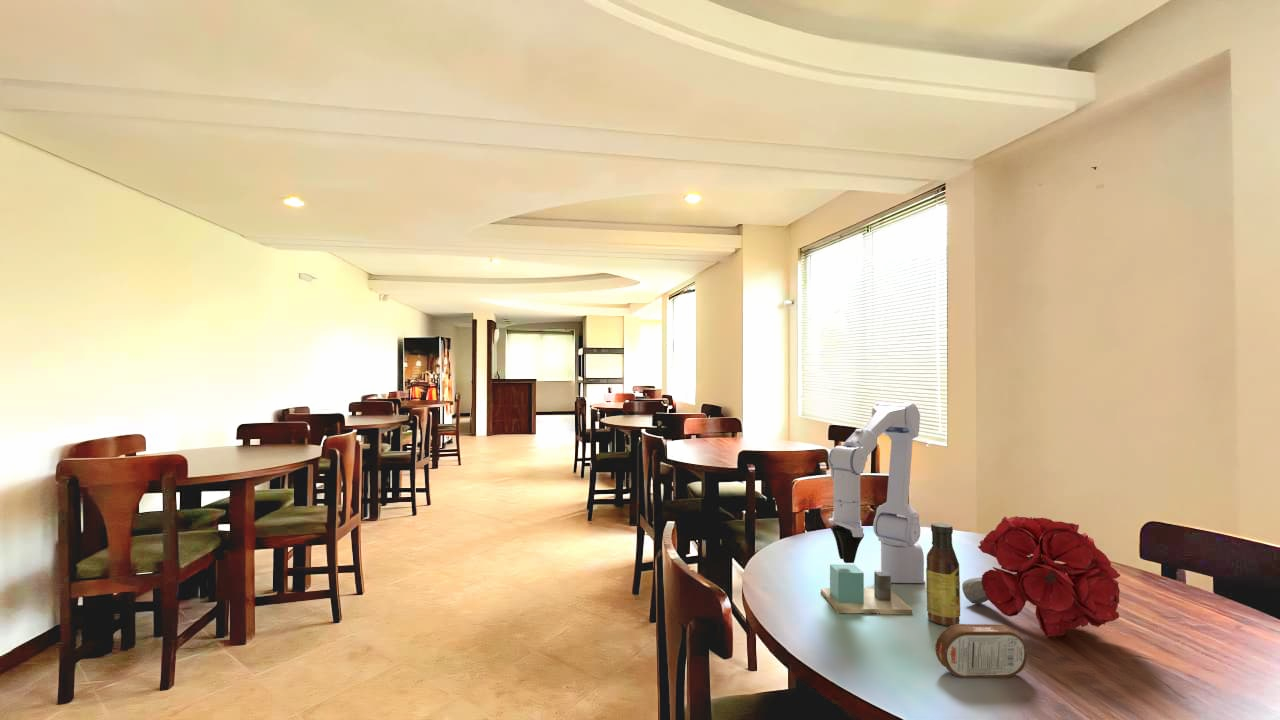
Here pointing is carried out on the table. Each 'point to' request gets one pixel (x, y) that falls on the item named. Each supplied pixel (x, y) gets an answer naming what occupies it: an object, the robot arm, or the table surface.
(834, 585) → the pale aqua cube
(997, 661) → the tin
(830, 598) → the birch board
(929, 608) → the sauce bottle
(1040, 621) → the bouquet
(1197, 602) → the table surface
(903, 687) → the table surface
